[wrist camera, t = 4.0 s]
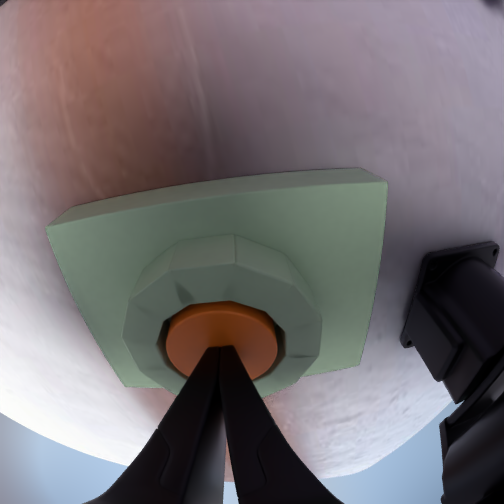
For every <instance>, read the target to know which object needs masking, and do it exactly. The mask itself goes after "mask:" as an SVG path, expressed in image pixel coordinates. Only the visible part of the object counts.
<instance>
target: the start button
mask: <svg viewBox="0 0 504 504" xmlns="http://www.w3.org/2000/svg"><path fill="white" fill-rule="evenodd" d="M227 345H233V346H234V347H235V349H236V351H237V353H238V355H239V357H240V359H241V361H242V363H243V364H244V366H245V368H246V370H247V372H248V374H249V376H250V378H251V380H252V379H255V378H257V377H258V376H260V375H262V374H263V373H264V372H266V371H267V370H268V369H269V368H270V367H271V365H272V364H273V362H274V360H275V358H276V356H277V351H278V346H277V340H276V334H275V329H274V323H273V319H272V318H271V317H270V316H269V315H268V314H267V312H266V311H263V310H260V309H257V308H253V307H250V306H247V305H244V304H241V303H237V302H234V301H231V300H228V301H218V302H208V303H198V304H190V305H188V306H186V307H185V308H183V309H182V310H180V311H179V312H177V313H175V314H174V315H172V318H171V322H170V327H169V331H168V335H167V340H166V350H167V354H168V357H169V359H170V360H171V362H172V363H173V365H174V366H175V367H176V368H177V369H178V370H179V371H181V372H182V373H183V374H185V375H187V376H188V377H189V376H190V374H191V373H192V371H193V370H194V368H195V366H196V365H197V363H198V362H199V360H200V358H201V357H202V355H203V354H204V352H205V350H206V349H207V348H208V347H215V346H219V347H220V348H221V347H222V346H227Z"/></svg>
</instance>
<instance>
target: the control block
mask: <svg viewBox="0 0 504 504" xmlns="http://www.w3.org/2000/svg"><path fill="white" fill-rule="evenodd" d="M387 193H388V182H387V181H385V180H383V179H381V178H380V177H378V176H376V175H374V174H372V173H370V172H368V171H366V170H364V169H362V168H344V169H324V170H308V171H294V172H282V173H271V174H261V175H251V176H242V177H234V178H226V179H218V180H210V181H203V182H196V183H190V184H183V185H177V186H171V187H165V188H159V189H154V190H148V191H143V192H138V193H132V194H127V195H122V196H118V197H113V198H108V199H104V200H99V201H95V202H90V203H86V204H82V205H78V206H74V207H71V208H70V209H68V210H67V211H66V212H64V213H63V214H62V215H60V216H59V217H58V218H56V219H55V220H54V221H52V222H51V223H50V224H49V225H47V226H46V227H45V230H46V233H47V236H48V238H49V241H50V244H51V247H52V249H53V252H54V255H55V257H56V260H57V262H58V265H59V267H60V270H61V272H62V274H63V277H64V279H65V281H66V283H67V286H68V288H69V290H70V292H71V294H72V297H73V299H74V301H75V303H76V305H77V307H78V309H79V311H80V313H81V315H82V317H83V319H84V321H85V322H86V324H87V326H88V328H89V330H90V332H91V333H92V335H93V337H94V339H95V341H96V342H97V344H98V346H99V347H100V349H101V351H102V352H103V354H104V356H105V357H106V359H107V361H108V362H109V364H110V365H111V367H112V369H113V370H114V372H115V373H116V375H117V376H118V378H119V379H120V381H121V382H122V384H123V385H124V386H125V387H140V388H165V389H166V390H168V391H169V392H171V393H173V394H175V395H178V394H179V392H180V390H181V389H182V387H183V386H184V384H185V382H186V381H187V379H188V378H189V377H188V376H187V375H185V374H183V373H182V372H181V371H179V370H178V369H177V368H176V367H175V366H174V365H173V363H172V362H171V360H170V359H169V357H168V354H167V350H166V340H167V335H168V331H169V327H170V322H171V318H172V315H174V314H175V313H177V312H179V311H180V310H182V309H183V308H185V307H186V306H188V305H190V304H198V303H208V302H218V301H228V300H231V301H234V302H237V303H241V304H244V305H247V306H250V307H253V308H257V309H260V310H263V311H266V312H267V314H268V315H269V316H270V317H271V318H272V319H273V323H274V329H275V334H276V340H277V346H278V351H277V356H276V358H275V360H274V362H273V364H272V365H271V367H270V368H269V369H268V370H267V371H266V372H264V373H263V374H262V375H260V376H258V377H257V378H255V379H252V381H253V383H254V385H255V387H256V389H257V391H258V392H259V394H260V396H261V398H263V397H266V396H268V395H270V394H273V393H275V392H277V391H280V390H282V389H284V388H286V387H288V386H291V385H292V384H294V383H296V382H297V381H298V380H299V379H300V377H303V376H309V375H315V374H320V373H326V372H331V371H336V370H340V369H345V368H350V367H354V366H358V365H359V364H360V360H361V356H362V352H363V348H364V344H365V340H366V336H367V332H368V327H369V323H370V318H371V313H372V308H373V303H374V298H375V292H376V287H377V281H378V275H379V268H380V261H381V254H382V247H383V238H384V229H385V219H386V207H387Z"/></svg>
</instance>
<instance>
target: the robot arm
mask: <svg viewBox="0 0 504 504" xmlns="http://www.w3.org/2000/svg"><path fill="white" fill-rule="evenodd" d="M498 253H499V245H498V244H496V243H495V242H489V243H483V244H478V245H472V246H466V247H461V248H455V249H449V250H443V251H437V252H431V253H429V254H427V255H426V256H425V258H424V259H423V262H422V266H421V270H420V274H419V279H418V283H417V287H416V291H415V294H414V298H413V302H412V305H411V309H410V312H409V315H408V319H407V322H406V325H405V328H404V331H403V334H402V337H401V341H400V342H401V344H402V346H403V347H404V348H409V347H413V346H415V348H416V349H417V351H418V352H419V354H420V356H421V357H422V359H423V361H424V362H425V364H426V366H427V367H428V369H429V371H430V373H431V374H432V376H433V378H434V379H435V380H436V381H437V382H440V381H443V383H444V385H445V387H446V388H447V390H448V392H449V394H450V395H451V397H452V399H453V401H454V403H455V404H458V403H460V402H462V401H464V400H465V401H464V402H463V403H462V404H461V405H460V406H459V407H458V408H457V409H456V410H455V411H454V412H453V413H452V414H451V415H450V416H449V417H447V418H445V419H444V420H443V421H442V422H441V423H440V425H439V428H440V437H441V445H442V446H441V447H442V459H443V474H442V481H443V490H444V494H443V495H442V497H441V503H442V504H504V277H502V276H501V275H500V274H499V273H498V272H497V271H496V270H495V269H494V266H495V263H496V260H497V256H498ZM226 438H227V442H228V448H229V454H230V460H231V465H232V471H233V476H234V482H235V487H236V492H237V496H238V502H239V504H344V503H343V502H341V501H340V500H339V499H337V498H336V497H335V496H334V495H333V494H332V493H331V492H330V491H329V490H328V489H326V487H325V486H323V484H322V483H321V482H320V481H319V480H318V479H317V478H316V477H315V475H314V474H313V473H312V472H311V471H310V470H309V469H308V468H307V467H306V465H305V464H304V463H303V462H302V461H301V460H300V458H299V457H298V456H297V455H296V453H295V452H294V451H293V449H292V448H291V447H290V445H289V444H288V442H287V441H286V439H285V438H284V436H283V435H282V433H281V431H280V429H279V428H278V426H277V425H276V423H275V421H274V419H273V418H272V416H271V414H270V412H269V410H268V409H267V407H266V405H265V403H264V402H263V400H262V398H261V396H260V394H259V392H258V391H257V389H256V387H255V385H254V383H253V381H252V380H251V378H250V376H249V374H248V372H247V370H246V368H245V366H244V364H243V363H242V361H241V359H240V357H239V355H238V353H237V351H236V349H235V347H234V346H233V345H227V346H222V347H221V348H220V347H219V346H215V347H208V348H207V349H206V350H205V352H204V354H203V355H202V357H201V358H200V360H199V362H198V363H197V365H196V366H195V368H194V370H193V371H192V373H191V374H190V376H189V378H188V379H187V381H186V382H185V384H184V386H183V387H182V389H181V390H180V392H179V394H178V395H177V397H176V398H175V400H174V402H173V403H172V405H171V406H170V408H169V410H168V411H167V413H166V414H165V416H164V417H163V419H162V421H161V422H160V424H159V425H158V429H156V430H155V431H154V433H153V435H152V436H151V438H150V439H149V441H148V442H147V444H146V445H145V446H144V448H143V449H142V451H141V452H140V453H139V454H138V456H137V457H136V458H135V459H134V461H133V462H132V463H131V464H130V465H129V467H128V468H127V469H126V470H125V471H124V472H123V473H122V475H121V476H120V477H119V478H118V479H117V480H116V482H115V483H114V484H113V485H112V486H111V487H110V488H109V489H108V490H107V491H106V492H105V493H103V494H102V495H100V496H99V497H97V498H95V499H93V500H91V501H88V502H86V503H83V504H223V491H224V472H225V455H226Z"/></svg>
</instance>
